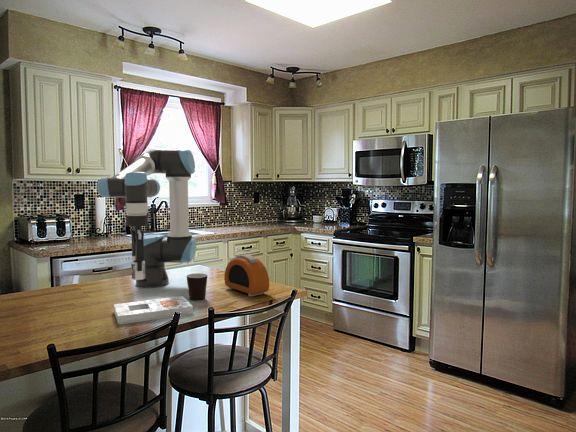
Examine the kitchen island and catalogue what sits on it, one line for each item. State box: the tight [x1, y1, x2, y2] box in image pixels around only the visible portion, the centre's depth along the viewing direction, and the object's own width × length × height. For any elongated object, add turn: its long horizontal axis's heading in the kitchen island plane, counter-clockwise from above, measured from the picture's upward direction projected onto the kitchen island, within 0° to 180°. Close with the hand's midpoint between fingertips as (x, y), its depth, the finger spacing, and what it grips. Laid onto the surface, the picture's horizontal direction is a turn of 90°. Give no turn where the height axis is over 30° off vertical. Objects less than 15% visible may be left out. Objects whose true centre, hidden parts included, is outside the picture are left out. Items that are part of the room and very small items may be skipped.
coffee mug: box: [186, 273, 208, 302], centre depth 179 cm, size 12×9×10 cm
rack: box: [113, 295, 194, 326], centre depth 158 cm, size 16×26×3 cm, turn 118°
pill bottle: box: [130, 256, 145, 281], centre depth 155 cm, size 5×5×8 cm
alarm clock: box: [224, 254, 270, 297], centre depth 190 cm, size 23×9×17 cm, turn 41°
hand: (138, 277), depth 155 cm, fingers closed on pill bottle, 5 cm apart
